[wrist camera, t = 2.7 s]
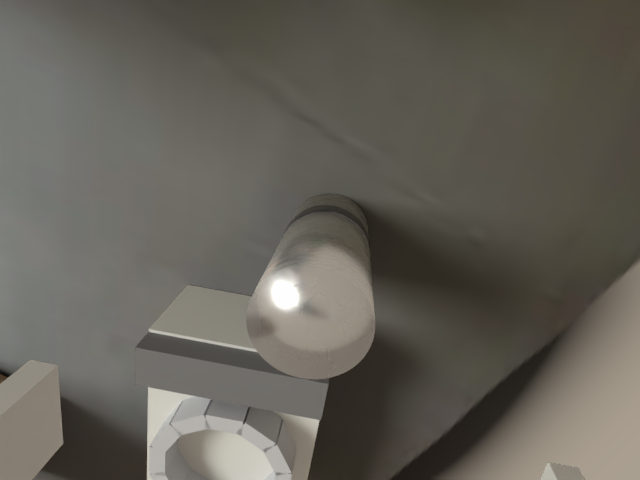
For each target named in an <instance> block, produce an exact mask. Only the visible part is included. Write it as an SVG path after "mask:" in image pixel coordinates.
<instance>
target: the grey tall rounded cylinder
mask: <svg viewBox="0 0 640 480" xmlns="http://www.w3.org/2000/svg"><path fill="white" fill-rule="evenodd" d="M246 325H247V331H248V335H249V338H250V340H251V342H252V344H253V346H254V348H255V349H256V351H257V352H258V353H259V355H260V356H261V357H262V358H263V359H264V360H265V361H266V362H268V363H269V364H270V365H271V366H273V367H274V368H276V369H277V370H279V371H281V372H283V373H285V374H288V375H291V376H294V377H298V378H303V379H326V378H331V377H334V376H338V375H340V374H343V373H345V372H347V371H348V370H350V369H352V368H353V367H354V366H356V365H357V364H358V363H359V362H360V361H361V360H362V359H363V358H364V357H365V355H366V354H367V352H368V351H369V349H370V347H371V345H372V342H373V339H374V333H375V316H374V302H373V289H372V275H371V262H370V244H369V235H368V225H367V221H366V218H365V215H364V213H363V212H362V210H361V209H360V208H359V206H358V205H357V204H355V203H354V202H353V201H352V200H350V199H348V198H347V197H344V196H342V195H338V194H331V193H327V194H320V195H316V196H314V197H311V198H310V199H308V200H306V201H305V202H304V203H303V204H302V205H301V206H300V207H299V208H298V209H297V211H296V213H295V215H294V216H293V218H292V220H291V222H290V224H289V225H288V227H287V229H286V231H285V233H284V235H283V237H282V239H281V241H280V243H279V245H278V247H277V249H276V251H275V253H274V255H273V257H272V259H271V261H270V262H269V264H268V266H267V268H266V270H265V272H264V274H263V276H262V278H261V280H260V282H259V284H258V285H257V287H256V289H255V291H254V293H253V295H252V297H251V299H250V301H249V304H248V307H247V313H246Z"/></svg>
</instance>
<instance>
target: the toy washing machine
mask: <svg viewBox="0 0 640 480" xmlns="http://www.w3.org/2000/svg"><path fill="white" fill-rule="evenodd" d="M251 297H252V296H247V295H241V294H236V293H230V292H225V291H220V290H214V289H209V288H203V287H198V286H192V285H187V287H186V288H185V289H184V290H183V291H182V292H181V293H180V294H179V296H178V297H177V298H176V299H175V300H174V301H173V302H172V304H171V305H170V306H169V307H168V308H167V309H166V310H165V311H164V313H163V314H162V315H161V316H160V317H159V318H158V319H157V320H156V322H155V323H154V324H153V325H152V326H151V327H150V328H149V332H148V333H147V335H146V336H145V337H144V338H143V339H142V340H141V341H140V343H139V344H138V345H137V346H136V347H135V385H139V386H144V387H148V435H147V480H307V479H308V474H309V470H310V465H311V460H312V455H313V450H314V445H315V440H316V435H317V430H318V425H319V420H321V419H322V414H323V409H324V404H325V399H326V394H327V390H328V385H329V378H326V379H303V378H298V377H294V376H291V375H288V374H285V373H283V372H281V371H279V370H277V369H276V368H274V367H273V366H271V365H270V364H269V363H268V362H266V361H265V360H264V359H263V358H262V357H261V356H260V355H259V353H258V352H257V351H256V349H255V348H254V346H253V344H252V342H251V340H250V338H249V335H248V331H247V325H246V313H247V307H248V304H249V301H250V299H251Z"/></svg>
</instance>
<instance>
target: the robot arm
mask: <svg viewBox="0 0 640 480" xmlns="http://www.w3.org/2000/svg"><path fill="white" fill-rule="evenodd" d="M62 444H63V432H62V418H61V404H60V390H59V375H58V365H54V364H49V363H44V362H39V361H34V360H30V361H28V362H27V363H26V364H25V365H23V366H22V367H21V368H19V369H18V370H17V371H16V372H14V373H13V374H12V375H11V376H9V377H8V378H7V379H6V380H4V381H3V382H2V383H1V384H0V480H32V479H33V478H34V477H35V476H36V475H37V474H38V472H39V471H40V470H41V469H42V468H43V467H44V465H45V464H46V463H47V462H48V461H49V460H50V458H51V457H52V456H53V455H54V454H55V453H56V451H57V450H58V449H59V448H60V447H61V446H62ZM540 480H585V478H584V477H583V475H582V473H581V472H580V470H579V468H576V467H571V466H566V465H561V464H556V463H551V462H548V464H547V466H546V468H545V470H544V472H543V475H542V477H541V479H540Z"/></svg>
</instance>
